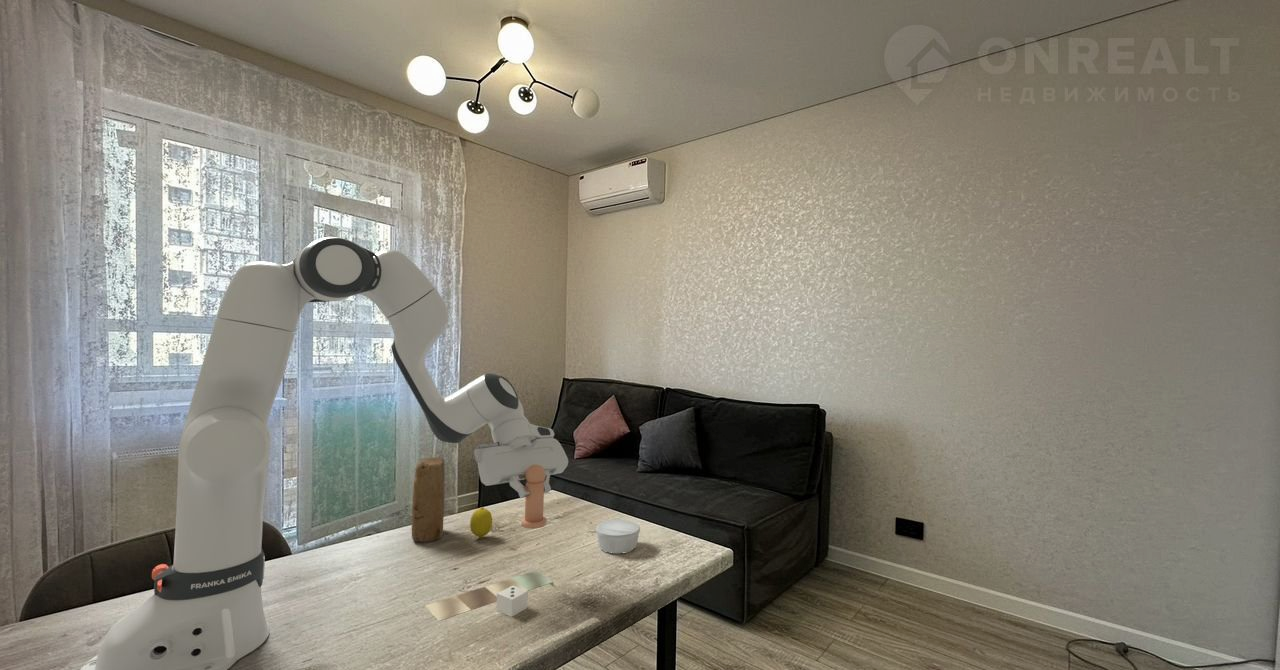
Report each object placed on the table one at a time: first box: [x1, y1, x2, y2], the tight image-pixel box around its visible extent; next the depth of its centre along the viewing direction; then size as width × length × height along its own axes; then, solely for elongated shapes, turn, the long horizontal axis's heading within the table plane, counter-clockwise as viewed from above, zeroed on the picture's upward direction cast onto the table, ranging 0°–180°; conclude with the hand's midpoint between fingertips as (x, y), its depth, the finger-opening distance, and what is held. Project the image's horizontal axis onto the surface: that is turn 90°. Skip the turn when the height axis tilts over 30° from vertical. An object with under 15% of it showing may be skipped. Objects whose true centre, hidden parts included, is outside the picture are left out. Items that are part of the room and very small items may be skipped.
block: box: [411, 457, 446, 543], centre depth 133 cm, size 11×8×20 cm
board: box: [424, 570, 554, 622], centre depth 101 cm, size 24×7×1 cm, turn 132°
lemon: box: [469, 506, 493, 539], centre depth 132 cm, size 6×6×8 cm
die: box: [495, 586, 529, 618], centre depth 95 cm, size 4×4×4 cm
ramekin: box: [595, 519, 641, 554], centre depth 128 cm, size 11×11×5 cm
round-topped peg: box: [520, 465, 547, 530], centre depth 107 cm, size 5×5×13 cm
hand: (536, 494), depth 107 cm, fingers closed on round-topped peg, 4 cm apart
